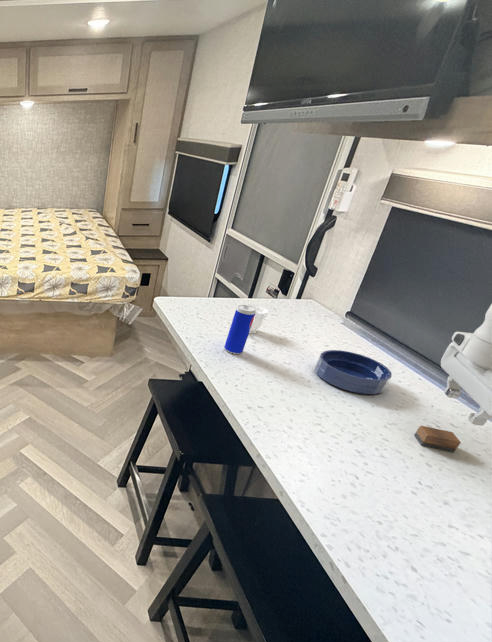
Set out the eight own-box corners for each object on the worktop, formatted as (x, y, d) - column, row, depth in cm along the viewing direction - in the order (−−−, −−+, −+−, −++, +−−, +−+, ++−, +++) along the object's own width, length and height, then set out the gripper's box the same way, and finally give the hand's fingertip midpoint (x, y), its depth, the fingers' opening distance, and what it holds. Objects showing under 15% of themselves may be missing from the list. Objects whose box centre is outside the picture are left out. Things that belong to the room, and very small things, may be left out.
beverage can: (243, 356, 123) (258, 312, 116) (225, 353, 124) (238, 310, 117) (240, 347, 127) (254, 305, 120) (222, 345, 129) (235, 303, 122)
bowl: (371, 371, 115) (379, 356, 112) (392, 401, 103) (402, 386, 100) (308, 360, 120) (314, 346, 118) (321, 387, 108) (328, 372, 106)
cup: (261, 329, 138) (269, 308, 134) (258, 340, 131) (266, 319, 127) (239, 323, 142) (245, 303, 138) (234, 334, 135) (241, 313, 131)
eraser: (445, 442, 90) (452, 432, 88) (453, 452, 87) (461, 442, 86) (413, 435, 92) (420, 425, 90) (421, 445, 89) (427, 435, 88)
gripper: (561, 386, 68) (514, 445, 75) (489, 333, 85) (456, 386, 91) (510, 378, 71) (469, 437, 77) (450, 328, 87) (420, 380, 94)
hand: (461, 408), depth 84 cm, fingers open, 8 cm apart
